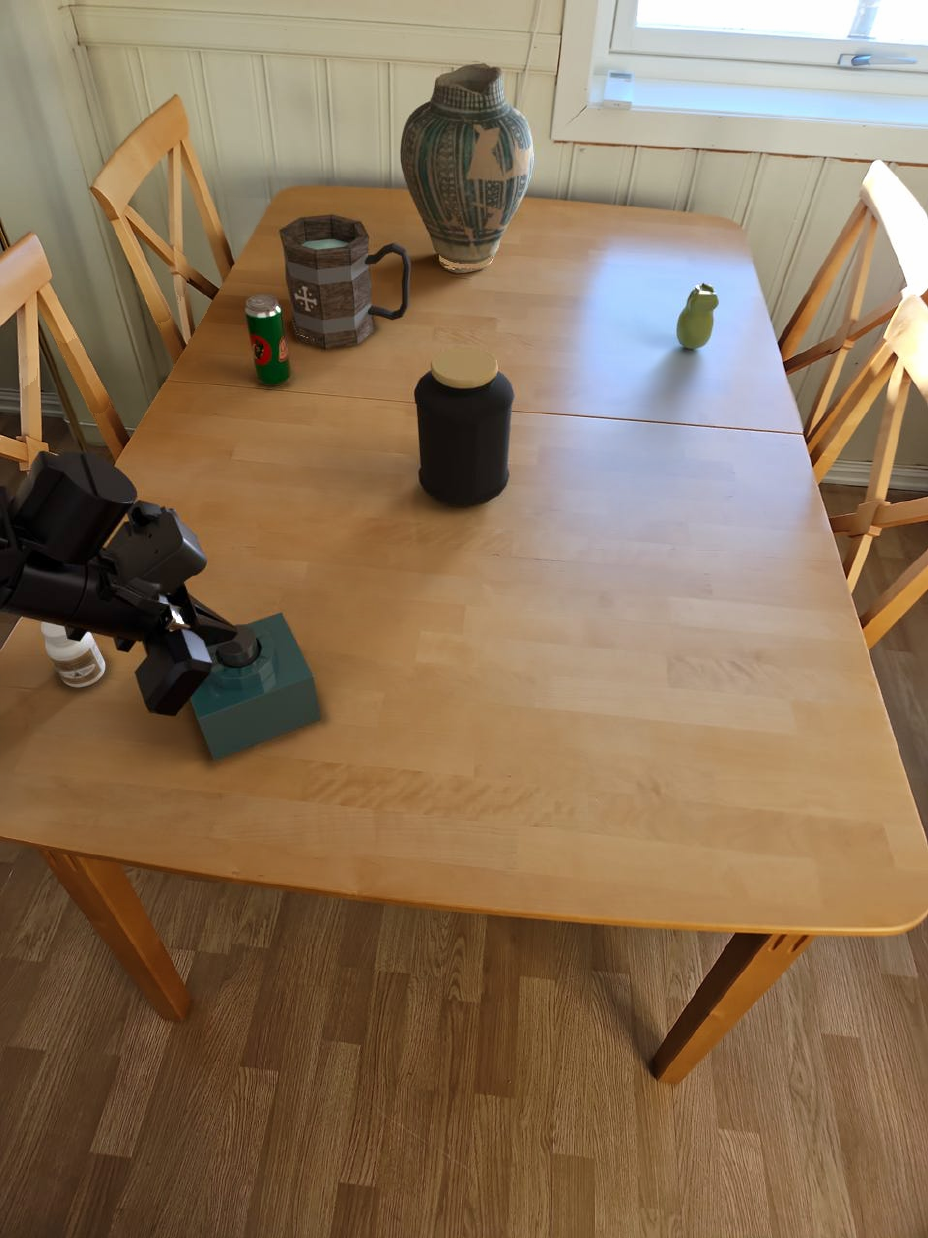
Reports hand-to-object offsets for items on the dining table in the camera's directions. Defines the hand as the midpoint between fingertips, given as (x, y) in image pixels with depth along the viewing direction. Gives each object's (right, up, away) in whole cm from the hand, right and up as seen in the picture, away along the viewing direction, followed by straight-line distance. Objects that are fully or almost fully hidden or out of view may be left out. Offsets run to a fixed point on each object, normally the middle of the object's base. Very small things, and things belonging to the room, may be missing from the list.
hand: (234, 633), depth 75 cm
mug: (+3, +48, +58) cm, 76 cm away
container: (+21, +19, +33) cm, 43 cm away
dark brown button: (0, -2, +2) cm, 3 cm away
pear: (+57, +45, +57) cm, 93 cm away
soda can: (-7, +37, +48) cm, 61 cm away
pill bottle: (-19, -4, +11) cm, 22 cm away
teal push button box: (0, -8, +9) cm, 11 cm away
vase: (+21, +66, +75) cm, 102 cm away
